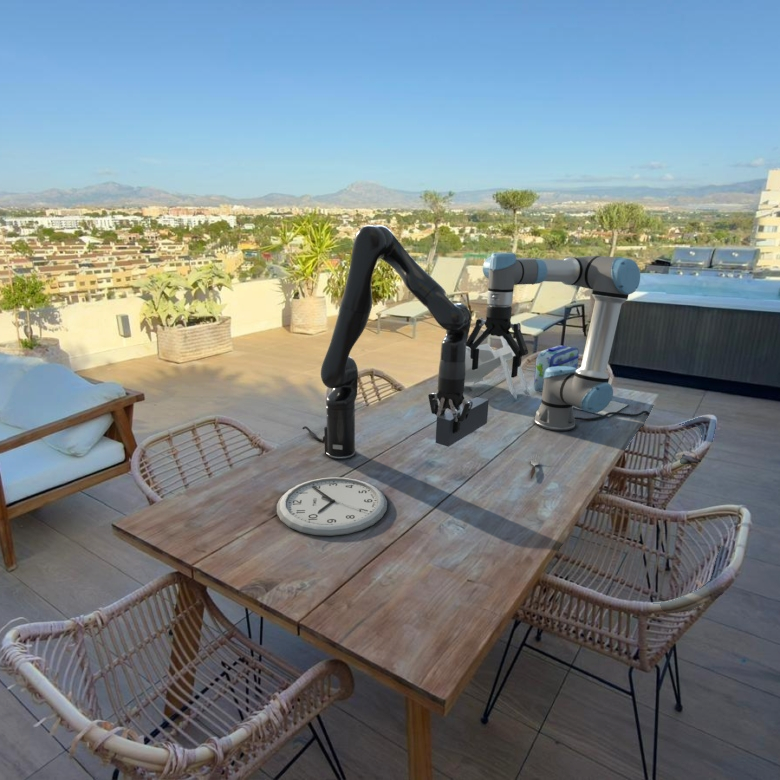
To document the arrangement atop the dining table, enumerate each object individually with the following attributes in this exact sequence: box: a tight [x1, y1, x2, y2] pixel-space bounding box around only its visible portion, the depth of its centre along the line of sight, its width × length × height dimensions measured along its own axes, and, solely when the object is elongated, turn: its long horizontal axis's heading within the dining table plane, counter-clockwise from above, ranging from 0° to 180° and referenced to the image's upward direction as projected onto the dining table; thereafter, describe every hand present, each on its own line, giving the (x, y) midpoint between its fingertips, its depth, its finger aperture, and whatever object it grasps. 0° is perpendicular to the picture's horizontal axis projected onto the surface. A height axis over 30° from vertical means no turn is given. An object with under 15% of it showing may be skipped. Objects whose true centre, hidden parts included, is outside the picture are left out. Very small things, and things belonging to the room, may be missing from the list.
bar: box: [435, 396, 490, 447], centre depth 161 cm, size 24×4×8 cm, turn 143°
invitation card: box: [573, 400, 629, 418], centre depth 226 cm, size 21×1×15 cm
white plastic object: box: [464, 336, 531, 400], centre depth 245 cm, size 37×45×31 cm
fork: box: [530, 454, 541, 480], centre depth 166 cm, size 3×16×2 cm, turn 160°
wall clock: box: [276, 476, 388, 537], centre depth 142 cm, size 30×2×30 cm
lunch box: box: [533, 345, 580, 393], centre depth 245 cm, size 26×11×21 cm, turn 135°
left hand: (448, 430), depth 154 cm, fingers closed on bar, 4 cm apart
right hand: (494, 372), depth 165 cm, fingers open, 13 cm apart
